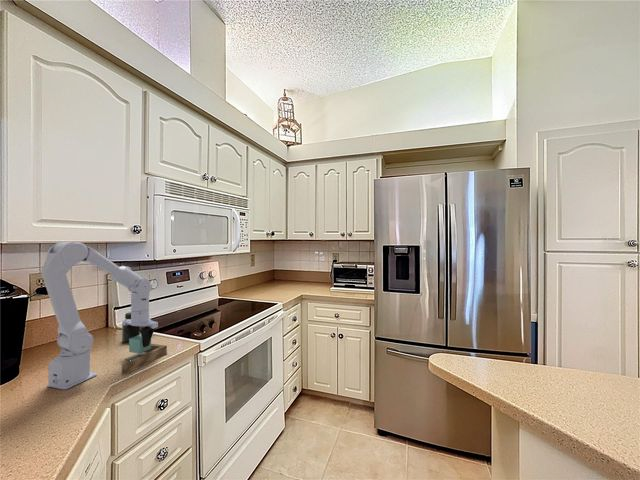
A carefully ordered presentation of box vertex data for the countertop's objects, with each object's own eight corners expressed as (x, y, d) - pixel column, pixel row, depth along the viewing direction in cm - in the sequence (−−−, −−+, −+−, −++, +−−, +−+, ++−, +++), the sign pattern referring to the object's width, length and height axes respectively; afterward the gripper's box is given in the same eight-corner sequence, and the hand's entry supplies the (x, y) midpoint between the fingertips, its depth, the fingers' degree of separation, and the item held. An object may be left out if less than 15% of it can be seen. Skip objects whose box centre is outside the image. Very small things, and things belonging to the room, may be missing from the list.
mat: (139, 361, 102) (139, 361, 102) (124, 359, 104) (124, 359, 104) (155, 354, 109) (155, 353, 109) (140, 352, 111) (140, 351, 111)
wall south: (125, 374, 93) (125, 365, 93) (122, 373, 93) (121, 364, 93) (163, 354, 108) (163, 347, 108) (160, 354, 109) (160, 346, 109)
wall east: (163, 354, 108) (163, 347, 108) (141, 351, 111) (141, 344, 111) (166, 353, 110) (166, 345, 110) (144, 350, 113) (144, 342, 113)
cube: (151, 348, 108) (151, 335, 108) (139, 353, 103) (139, 339, 103) (140, 346, 109) (140, 334, 109) (129, 351, 105) (129, 338, 105)
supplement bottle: (131, 343, 120) (131, 315, 120) (118, 342, 121) (118, 314, 121) (144, 338, 126) (144, 311, 126) (131, 336, 128) (131, 310, 128)
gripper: (164, 308, 108) (164, 343, 108) (134, 306, 112) (134, 339, 112) (148, 313, 101) (149, 350, 102) (117, 310, 105) (117, 346, 105)
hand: (140, 345), depth 106 cm, fingers closed on cube, 5 cm apart
